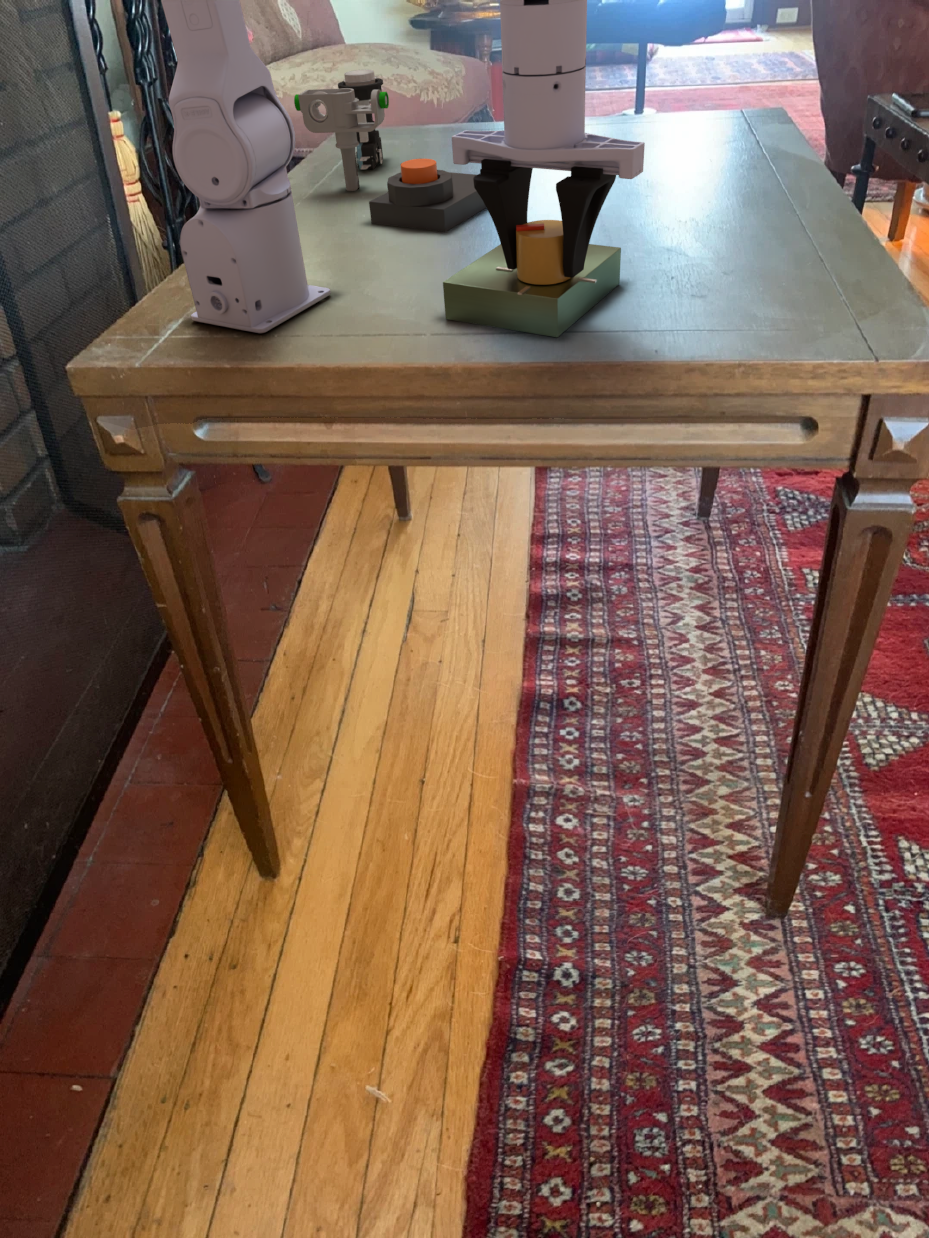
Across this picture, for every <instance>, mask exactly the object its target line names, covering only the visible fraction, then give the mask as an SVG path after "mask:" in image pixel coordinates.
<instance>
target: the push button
mask: <svg viewBox="0 0 929 1238" xmlns="http://www.w3.org/2000/svg"><path fill="white" fill-rule="evenodd" d="M343 77H344V79H343V80H342V81H340V82H338V83H337V89H341V88H350V89H354V94H355V98H357V99H359V103H358V106H367V105H371V104H369V100H371V93H372V91H373V90H381V92H383V90H382V85H384V79H383V78H379V77H377V76H376V75H375V70H374V69H365V68H364V69H354V70H349V71H346V72H344V73H343ZM357 119H358V123H375V120H374V117H373V113H370V114H357ZM356 134H357V141H358V142H359V145H358V146H357V147H356V151H355V154H356V161H357V166H358V168H359V170H360V171H362V170H364V171H365V170H374V169H375V168H376V166H377V165H378V163H379V164H380V165H382V164H383V161H384V155H383V154H384V153H383V144H382V143H383V142H382V137H381V136H380V131H379V130H378V129H374V130H373V131H371V132H356Z"/></svg>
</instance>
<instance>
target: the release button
mask: <svg viewBox="0 0 929 1238" xmlns="http://www.w3.org/2000/svg"><path fill="white" fill-rule="evenodd" d="M437 170H438V165H437V161H436V160H435V159H432V158H414V159H413V158H412V159H409V160H408V159H407V160H405V161H403V162H402V163H400V173H401V175H402V183H408V184H421V183H428V182H432V181H436V180H438V177H437Z"/></svg>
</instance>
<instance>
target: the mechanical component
mask: <svg viewBox="0 0 929 1238" xmlns="http://www.w3.org/2000/svg"><path fill="white" fill-rule="evenodd" d="M389 98H390V97H389V93H388V92H387V91H382V92H381V90H373V91H372V93H371V100H369V104H370V105H367V106H358V103H359V99H357V98H355V94H354V89H350V88H341V89H339V88H321V89H320V88H319V89H318V88H317V89H305V90H303V91H302V92H300V93H298V94H297V93H296V94H294V99H293V104H294V107H295V110H296V111H297V112H300V113H301V114H302V120H303V124H304V127H305V128H306V130H308V131H309V132H311V133H313V134H328V133H329V134H332V133H333V134H335V147H336V149H339V150H340V153H341V161H342V168H343V176H344V183H345V189H346V191H348V192H355V191H358V188H359V189H360V178H359V177H360V176H359V170H358V165H357V159H356V148H357V146H358V145H359V142H358V141H357V134H356V132H371V131H373V130H374V129H375V130H377V128H378V127H380V126H381V124H382V123H383V122H384V121H385V116H386V115H385V109H388V108H389V105H390V99H389ZM321 105H323V106H324V109H325V114H323V113H322V112H321V111H320V110H319V107H321ZM370 113H372V114H374V122H375V123H358V119H357V114H370Z"/></svg>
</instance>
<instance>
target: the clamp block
mask: <svg viewBox="0 0 929 1238" xmlns="http://www.w3.org/2000/svg"><path fill="white" fill-rule="evenodd" d="M621 256H622V247H621V246H620V247H618V246H610V245H602V244H601V245H600V244H593V243H589V246H588V250H587V254H586V259H585V264H584V270H582V271H581V272H580V273H579V274H577V275H576V276H575V277H573V278H570V279H568V280H566V281H564V282H561V283H556V284H549V285H535V284H529V283H525V282H523V281H521V280H519V279H518V277H517V268H516V269H515V270H513V269H508V268H507V264H506V260H505V257H504V253H503V249H502V246H501V243H500V244H498V245H497V246H495V247H494V248H492V249H490V250H489V251H488V252H486V253H485V254H483V255H482V256H480V257H479V258H477V259H476V260H474V261H473V262H471V263H470V264H468V265H466V266H465V267H464V268H462V269H461V270H459V271H457V272H456V273H454V274H453V275H451V276H449V277H448V278H447V279H445V280H443V282H442V289H443V302H444V303H443V304H444V313H445V314H444V316H445V320H448V321H449V320H450V321H456V322H461V323H469V324H474V325H480V326H486V327H492V328H498V329H505V330H511V331H516V332H522V333H528V334H534V335H539V336H547V337H552V338H559V337H560V336H562V335H563V334H564V333H565V331H567V330H568V329H569V328H570V327H571V326H573V325H574V324H575V323H576V322H577V321H578V320H579V319H581V318H582V317H583V316H584V315H585V314H586V313H588V312H589V311H590V310H591V309H592V308H593V307H595V306H596V305H597V304H598V303H599V302H600V301H602V299H604V298H605V297H607V295H608V294H610V293H611V292H612V291H613V290H614V289H616V288H617V287H618V286H619V285H620V284H621V283H620V281H621V262H622V261H621V258H622V257H621Z"/></svg>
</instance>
